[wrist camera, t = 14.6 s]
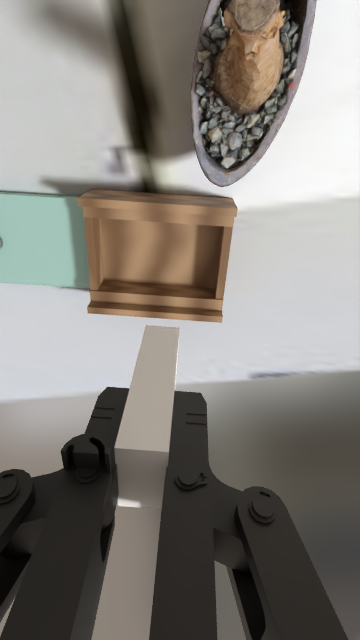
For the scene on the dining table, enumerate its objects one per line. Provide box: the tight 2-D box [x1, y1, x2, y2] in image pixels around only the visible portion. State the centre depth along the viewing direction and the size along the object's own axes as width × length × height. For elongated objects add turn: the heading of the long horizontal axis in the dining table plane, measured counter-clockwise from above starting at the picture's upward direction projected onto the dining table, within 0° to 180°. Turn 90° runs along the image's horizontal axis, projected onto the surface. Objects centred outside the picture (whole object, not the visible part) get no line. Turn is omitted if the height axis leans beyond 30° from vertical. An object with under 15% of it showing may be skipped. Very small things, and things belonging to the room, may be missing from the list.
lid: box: [0, 192, 90, 288], centre depth 46 cm, size 17×12×3 cm
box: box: [77, 189, 237, 323], centre depth 44 cm, size 18×15×6 cm
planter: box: [191, 0, 316, 187], centre depth 28 cm, size 15×17×20 cm
